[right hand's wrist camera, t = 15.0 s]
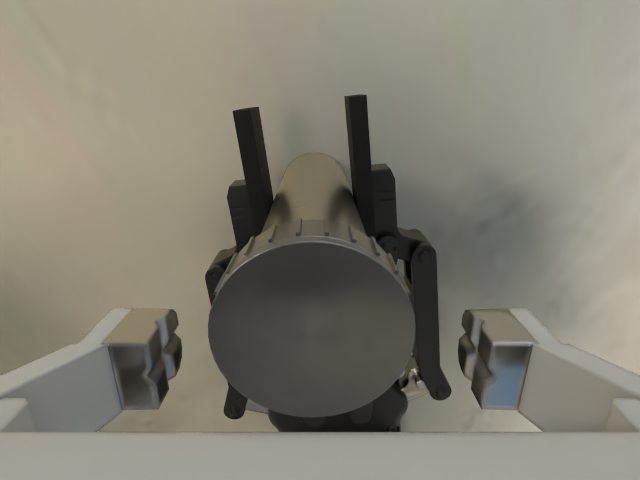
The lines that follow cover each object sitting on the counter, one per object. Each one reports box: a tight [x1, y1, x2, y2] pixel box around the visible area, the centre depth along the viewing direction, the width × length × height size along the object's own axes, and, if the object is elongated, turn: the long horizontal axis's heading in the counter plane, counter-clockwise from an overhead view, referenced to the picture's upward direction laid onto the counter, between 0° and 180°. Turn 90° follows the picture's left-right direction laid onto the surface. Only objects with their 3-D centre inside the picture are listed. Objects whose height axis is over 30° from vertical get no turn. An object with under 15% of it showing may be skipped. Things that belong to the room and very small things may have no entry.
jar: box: [262, 153, 366, 235], centre depth 18 cm, size 4×4×17 cm
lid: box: [208, 218, 416, 417], centre depth 11 cm, size 5×5×2 cm
